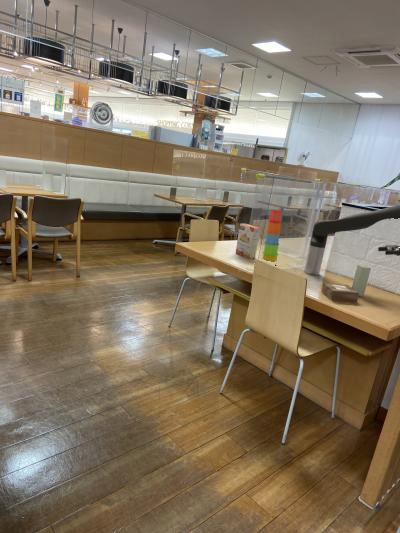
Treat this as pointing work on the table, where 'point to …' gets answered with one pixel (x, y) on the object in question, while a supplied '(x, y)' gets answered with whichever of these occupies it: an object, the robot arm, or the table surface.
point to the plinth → (340, 292)
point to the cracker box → (247, 240)
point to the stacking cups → (272, 236)
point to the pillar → (361, 279)
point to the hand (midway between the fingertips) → (381, 250)
